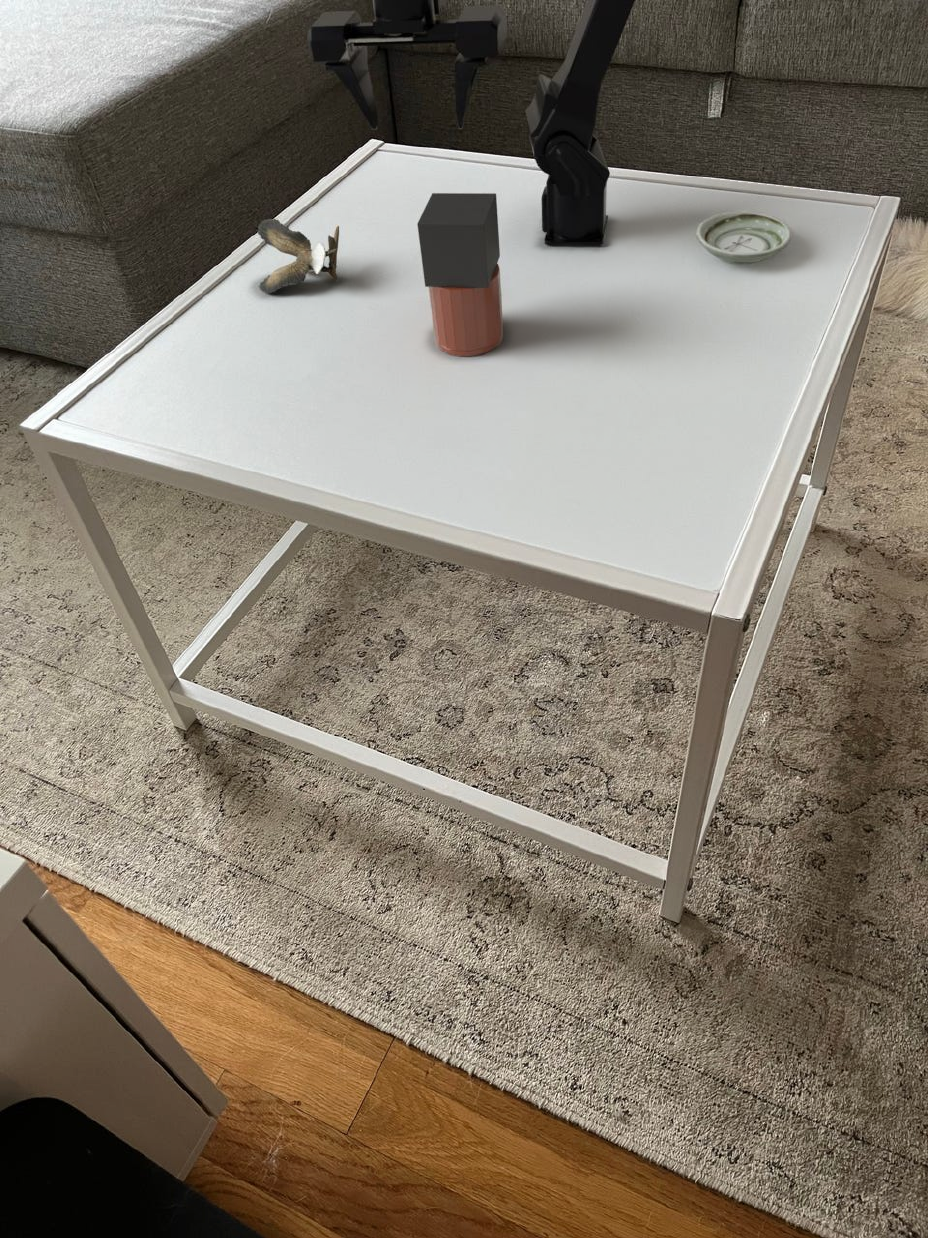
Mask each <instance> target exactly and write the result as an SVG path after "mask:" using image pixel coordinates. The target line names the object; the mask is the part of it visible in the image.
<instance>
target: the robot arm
mask: <svg viewBox="0 0 928 1238" xmlns="http://www.w3.org/2000/svg"><path fill="white" fill-rule="evenodd" d="M635 2H636V0H586V2H585V5H584V8H583V10H582V12H581V16H580V18H579V21H578V23H577V27H576V29H575V32H574V35H573V38H572V40H571V43H570V46H569V49H568V51H567V53H566V57H565V59H564V62H562V65H561V66H560V68H559V69H558V70H557V71H556V73H555V74H554V75H553V76H552V78H549V77H547V76H545V75H543V74H542V73H540V74H539V75H538V78H537V82H536V88H535V93H534V95H533V99H532V100H531V103H530V104H529V105H528V106H527V108H526V109H525V111H524V112H525V117H526V120H527V131H528V132H527V133H528V136H529V141H530V145H531V150H532V153H533V154H532V155H533V158H534V160H535V163H536V165H537V167H538V168H539V169H540V170H541V171H542V172H543V173H544V174H546V175H548V177H547V180H546V184H545V186H544V188H543V191H542V194H541V231H542V232H543V233H545V237H544V245H545V246H583V247H584V246H585V247H589V246H590V247H591V246H592V247H599V246H602V245H604V240H605V237H606V231H607V228H608V222H609V215H607V194H608V193H607V192H608V191H607V190H608V180H609V178H610V174H611V173H610V169H609V165H608V164H607V160H606V158H605V155H604V153H603V150H602V146H601V143H600V141H599V138H597V137H596V136H595V134H594V132H595V128H596V124H597V123H596V122H597V116H598V108H599V100H600V93H601V89H602V85H603V81H604V79H605V76H606V75H607V72H608V69H609V67H610V65H611V62H612V59H613V57H614V54H615V52H616V49H617V47H618V45H619V42H620V39H621V36H622V35H623V32H624V29H625V27H626V25H627V22H628V19H629V17H630V14H631V12H632V9H633V7H634V5H635ZM372 5H373V6H372V7H373V13H374V19H373V20H372V21H371V22H362V18H361V16H360V13H359V12H358V11H357V10H343V11H342V10H341V11H324V12H323V13H322V14H321V15H320V16H319V18H318V19H317V20H316V21H315V22H314V23H313V24H312V25H311V26H310V28H309V29H308V32H307V36H306V38H307V40H306V42H307V43H306V44H307V48H308V54H309V58H310V61H312V62H314V63H321V62H322V63H324V64H323V65H324V69H325V71H328V72H334V73H335V75H336V77H338V79H339V81H341V83H342V85H343V86H344V87H345V88H346V89H347V91H348V92H349V93H350V95H351V97H352V98H353V99H354V101H355V103H356V105H357V107H358V108H359V110H360V111H361V113H362V115H363V116H364V118H365V119H366V121H367V123H368V126H369V127H370V128H371V130H372V131H375V130H377V129H378V127H379V118H378V109H377V104H376V99H375V94H374V89H373V84H372V80H371V74H370V71H369V63H368V62H369V61H368V60H369V59H368V47H372V46H374V47H376V46H404V45H406V46H407V45H411V46H412V45H438V44H439V45H441V44H442V45H443V44H455V49H456V50H457V51H458V53H459V54H458V55H457V57H456V58H455V61H454V63H453V65H454V67H453V68H454V89H455V90H454V92H455V93H454V94H455V116H456V117H455V118H456V122H457V127H458V129H459V130H462V129H463V128H464V126H465V122H466V118H467V112H468V108H469V104H470V99H471V94H472V91H473V90H472V89H473V85H474V82H475V78H476V75H477V71H478V68H482V67H485V66H486V65H487V63H488V61H489V59H490V58H492V57H493V58H494V57H496V56H498V55H500V53H501V51H502V48H503V46H504V44H505V43H506V40H507V38H508V21H507V19H508V18H507V15H506V12H505V10H504V9H503V8H502V7H501V6H500V4H499V5H475V6H474V5H472V6H465V7H464V8H463V10H461V13H460V15H459V16H458V17H457V19H436V16H440V15H441V14H442V12H443V13H444V12H446V10H447V6H446V5H447V3H446V0H372ZM424 32H425V33H424Z"/></svg>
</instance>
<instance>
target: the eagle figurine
mask: <svg viewBox="0 0 928 1238" xmlns="http://www.w3.org/2000/svg"><path fill="white" fill-rule="evenodd" d="M257 228H258V231H257V235H259V237H260V239H261V240H263V241H264V243H265V244H267V245H269V246H271V247H272V248H274V249H276V250H278V251H279V252H281V253H283V254H287V255H290V256H293V257H296V260H294V261H292V262H291V263H289V264H287V265H284V266H280V267H278V268H277V269H275V270H273V272H271V274H269V275H268V276H267V277H266V278H263V281H261V282H260V283H259V285H258V288H259V290H260V291H262V293H265V294H270V293H275V292H277V290H280V289H282V288H284V287H287V286H289V285H291V286H294V285H295V286H296V285H298V284H299V283H301V282H303V281H304V280H305V279H306V278H307V274H308V273H309V272H310V271H313V272H314V273H315V274H316V275H319V273H320V272H322V273H328V274H329V276H330V277H331V279H332V280H333V281H335V282H336V283H337V282H338V274H337V268H338V266H337V263H338V262H337V261H338V249H339V238H340V226H339V225H337V226H336V227H335V231H334V234H333V236H331V235H327V245H328V249H327V250H326V248H325V246H324V244H323V243H322V242H318V243H317V245H315V247H314V248H313V249H312V243H311V240H310V239H308V237H307V236H305V235H304V234H303V233H302V232H301V231H295V230H292V229H290V228H289V226H286V225H285V224H283V223H281V222H280V220H279V219H276V218H273V219H272V218H267V219H264V220H261V222H260V223H259V226H257ZM327 257H328V266H326V265H325V260H326V258H327Z"/></svg>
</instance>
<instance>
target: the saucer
mask: <svg viewBox="0 0 928 1238" xmlns="http://www.w3.org/2000/svg"><path fill="white" fill-rule="evenodd" d="M695 234H696V239H697V241H698V243H699V244H700V245H701V246H702V247H703V248H704V249H705V250H706V251H707V252H708V253H709V254H711V255H712V256H714V257H716V258H718V259H720V260H721V261H723V262H726V263H728V264H734V265H749V264H754V263H757V262H759V261H763V260H766V259H769V258H770V257H771V258H772V257H773V256H774V255H776V254H778V253H779V252H781V251H782V250H784V249H785V248H787V246H788V245H789V244H790V242H791V240H792V229H791V228H790V227H789V225H788V224H787V223H786V222H785V221H783V220H782V219H780V218H778V217H776V216H774V215H771V214H768V213H763V212H758V211H749V210H748V211H747V210H738V211H736V210H735V211H727V212H722V213H718V214H715V215H712V216H710V217H707V218H706V219H704V220H703V221H702V222H701V223H700V224H699V225H698V226H697V228H696V233H695Z"/></svg>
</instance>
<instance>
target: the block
mask: <svg viewBox="0 0 928 1238" xmlns="http://www.w3.org/2000/svg"><path fill="white" fill-rule="evenodd" d="M497 200H498V199H497V193H493V192H492V193H491V192H490V193H485V192H484V193H483V192H482V193H480V192H477V193H475V192H473V193H472V192H471V193H470V192H469V193H468V192H467V193H457V192H455V193H454V192H453V193H452V192H450V193H449V192H447V193H446V192H433V193H431V195H430V197H429V200H428V201H427V203H426V205H425V207H424V209H423V212H422V213H421V216H420V217H419V219H418V222H417V223H416V224H417V233H418V241H419V248H420V249H419V250H420V255H421V263H422V273H423V280H424V281H423V282H424V287H427V288H429V287H460V288H489V285H490V282H491V279H492V277H493V274H494V271H495V268H496V265H497V264H498V262H499V260H500V257H501V252H500V250H501V249H500V235H499V217H498V203H497V202H498V201H497Z"/></svg>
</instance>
